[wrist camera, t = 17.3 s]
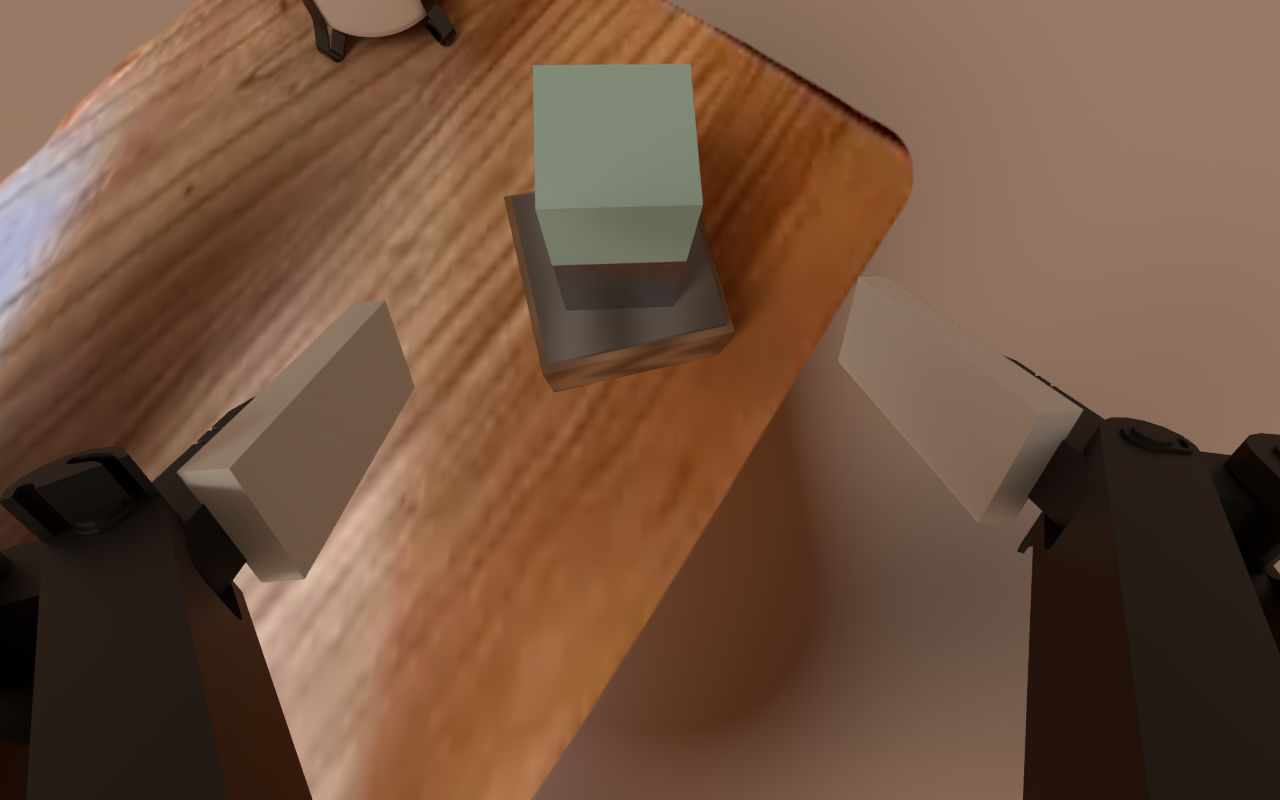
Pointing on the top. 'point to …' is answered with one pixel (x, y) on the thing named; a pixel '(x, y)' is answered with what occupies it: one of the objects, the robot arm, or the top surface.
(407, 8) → the coffee press
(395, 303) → the top surface
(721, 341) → the walnut stand
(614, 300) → the base
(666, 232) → the lid
